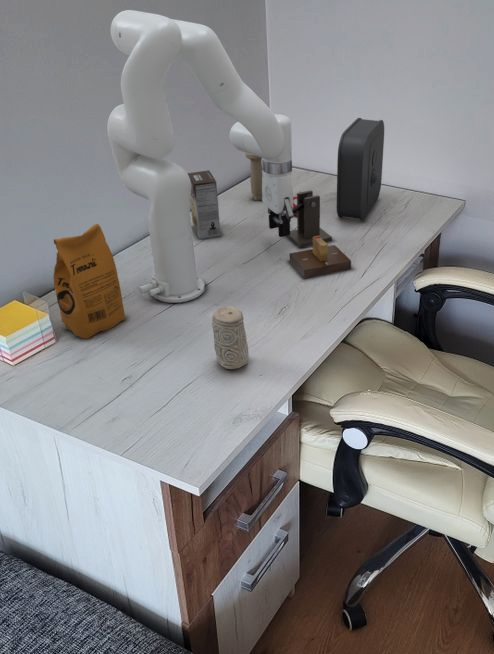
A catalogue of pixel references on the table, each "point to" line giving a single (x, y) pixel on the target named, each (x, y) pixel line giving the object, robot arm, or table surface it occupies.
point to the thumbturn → (320, 248)
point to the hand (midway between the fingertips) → (279, 231)
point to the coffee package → (87, 284)
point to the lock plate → (319, 262)
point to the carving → (230, 337)
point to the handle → (256, 176)
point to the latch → (294, 208)
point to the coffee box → (204, 204)
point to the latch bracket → (308, 222)
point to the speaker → (359, 168)
